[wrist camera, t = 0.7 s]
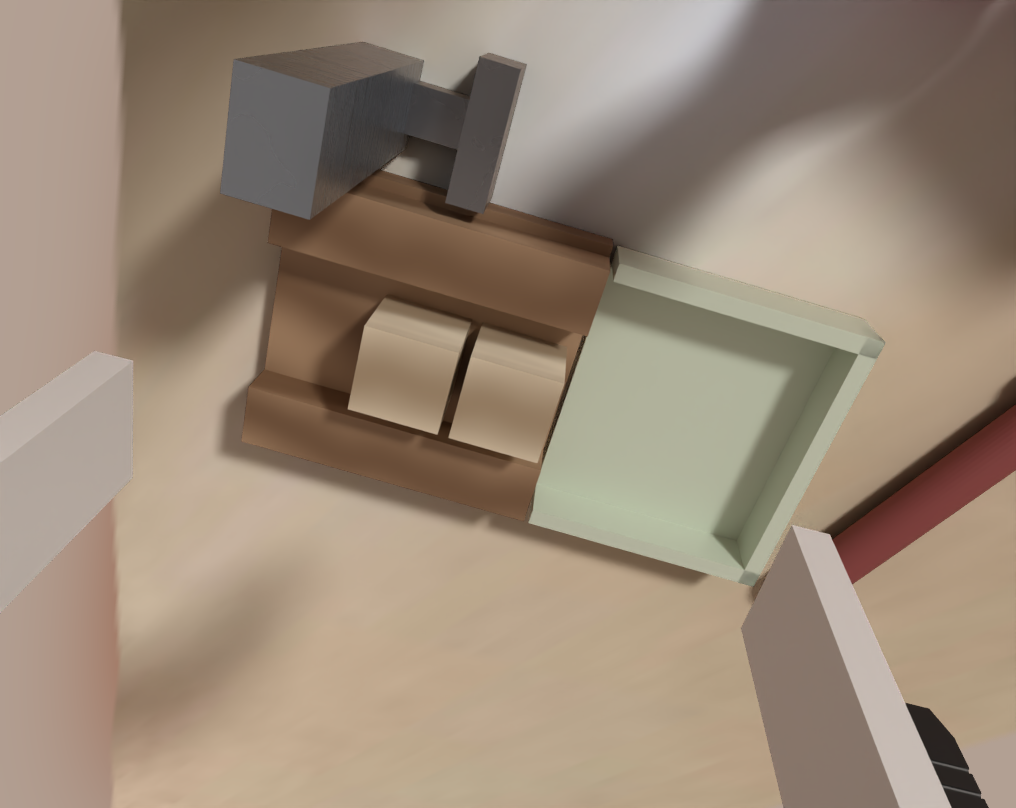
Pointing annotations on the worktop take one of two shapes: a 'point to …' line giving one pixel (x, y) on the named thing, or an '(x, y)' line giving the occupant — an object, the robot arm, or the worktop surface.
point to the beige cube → (408, 363)
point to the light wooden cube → (510, 393)
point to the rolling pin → (930, 497)
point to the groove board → (425, 280)
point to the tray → (698, 416)
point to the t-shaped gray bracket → (358, 124)
